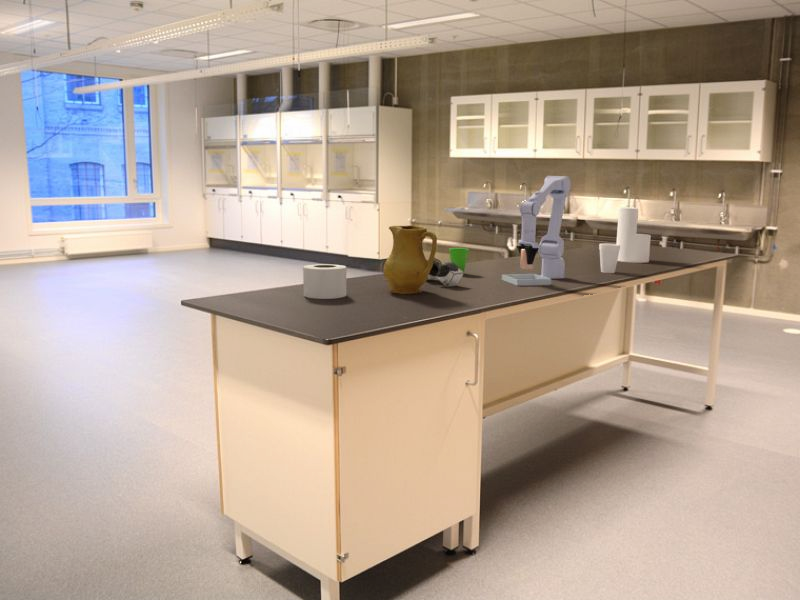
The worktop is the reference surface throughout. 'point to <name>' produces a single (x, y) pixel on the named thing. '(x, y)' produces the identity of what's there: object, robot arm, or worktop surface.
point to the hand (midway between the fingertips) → (526, 263)
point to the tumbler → (524, 261)
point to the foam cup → (608, 257)
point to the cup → (459, 257)
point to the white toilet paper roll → (324, 281)
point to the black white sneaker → (445, 273)
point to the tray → (526, 279)
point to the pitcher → (408, 259)
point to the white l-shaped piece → (631, 237)
